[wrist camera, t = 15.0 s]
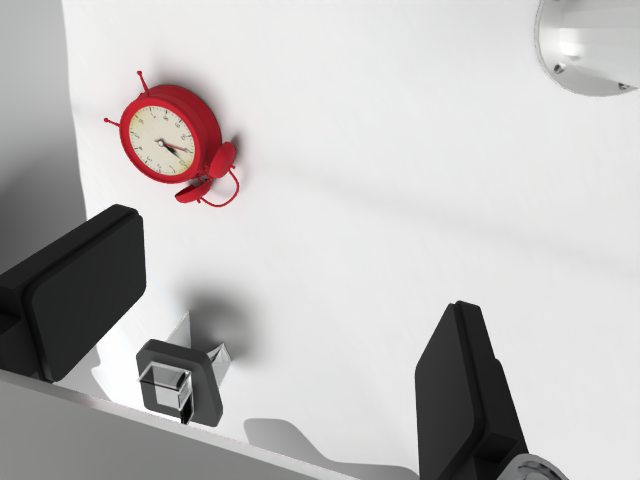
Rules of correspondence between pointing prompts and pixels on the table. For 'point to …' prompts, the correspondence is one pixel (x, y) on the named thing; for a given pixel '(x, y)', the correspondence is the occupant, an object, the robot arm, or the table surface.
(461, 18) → the table surface
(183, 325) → the black-topped pedestal
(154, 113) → the alarm clock
